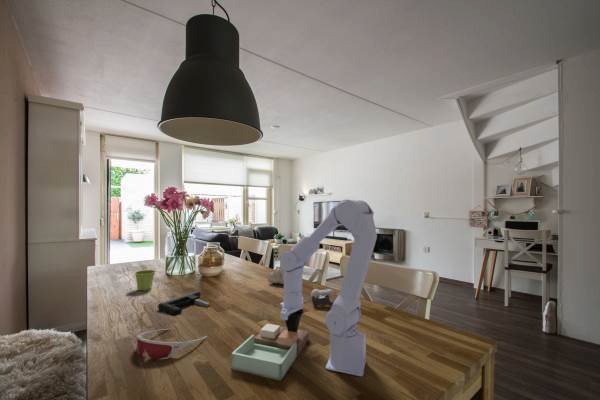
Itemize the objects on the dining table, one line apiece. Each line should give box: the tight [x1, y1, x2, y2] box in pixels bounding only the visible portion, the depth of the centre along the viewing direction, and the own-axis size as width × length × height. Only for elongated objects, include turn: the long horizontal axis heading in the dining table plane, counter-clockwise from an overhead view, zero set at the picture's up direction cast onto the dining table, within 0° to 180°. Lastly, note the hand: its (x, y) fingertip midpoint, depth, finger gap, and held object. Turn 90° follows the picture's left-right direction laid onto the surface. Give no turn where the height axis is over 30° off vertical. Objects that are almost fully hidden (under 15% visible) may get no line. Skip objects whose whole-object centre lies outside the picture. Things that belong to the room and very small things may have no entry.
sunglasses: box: [136, 328, 208, 360], centre depth 82 cm, size 17×17×5 cm
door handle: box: [157, 290, 211, 316], centre depth 114 cm, size 3×20×16 cm
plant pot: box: [134, 269, 157, 292], centre depth 137 cm, size 9×9×9 cm
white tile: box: [260, 323, 281, 339], centre depth 83 cm, size 4×4×2 cm
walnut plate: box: [254, 326, 309, 356], centre depth 83 cm, size 14×10×2 cm
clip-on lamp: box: [302, 288, 335, 309], centre depth 119 cm, size 12×6×18 cm
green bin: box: [230, 334, 298, 382], centre depth 72 cm, size 14×11×4 cm
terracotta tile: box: [278, 330, 298, 347], centre depth 79 cm, size 4×4×2 cm
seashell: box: [267, 266, 284, 285], centre depth 148 cm, size 10×15×10 cm
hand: (292, 334), depth 82 cm, fingers closed
